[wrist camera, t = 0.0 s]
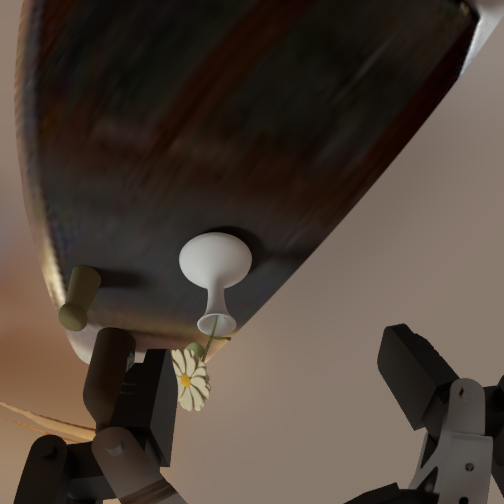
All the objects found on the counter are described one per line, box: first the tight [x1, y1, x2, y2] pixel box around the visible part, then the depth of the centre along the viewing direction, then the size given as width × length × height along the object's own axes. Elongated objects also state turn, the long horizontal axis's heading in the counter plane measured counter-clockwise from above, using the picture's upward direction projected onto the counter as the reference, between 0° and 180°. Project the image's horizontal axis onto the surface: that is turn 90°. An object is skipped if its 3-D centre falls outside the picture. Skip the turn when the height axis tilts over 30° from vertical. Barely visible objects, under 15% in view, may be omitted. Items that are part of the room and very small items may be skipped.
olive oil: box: [83, 328, 136, 435], centre depth 53 cm, size 11×11×25 cm
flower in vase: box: [172, 232, 252, 411], centre depth 39 cm, size 13×11×25 cm
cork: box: [59, 265, 101, 331], centre depth 45 cm, size 6×6×11 cm
